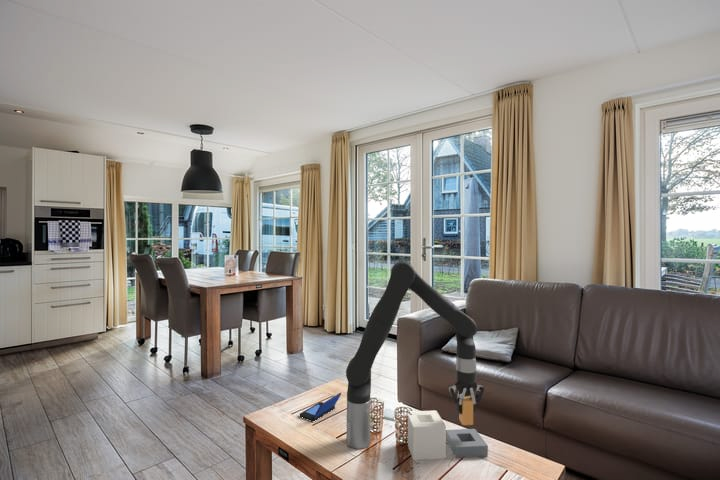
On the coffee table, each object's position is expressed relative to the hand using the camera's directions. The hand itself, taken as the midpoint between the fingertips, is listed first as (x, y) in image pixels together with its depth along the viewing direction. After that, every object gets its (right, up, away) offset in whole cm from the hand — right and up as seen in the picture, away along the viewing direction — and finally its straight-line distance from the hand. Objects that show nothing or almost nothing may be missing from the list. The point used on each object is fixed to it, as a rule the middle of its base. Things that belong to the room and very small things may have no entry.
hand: (466, 412), depth 140 cm
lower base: (0, -14, 0) cm, 14 cm away
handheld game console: (-59, -14, +27) cm, 66 cm away
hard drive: (-29, -14, +27) cm, 42 cm away
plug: (0, -4, 0) cm, 4 cm away
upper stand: (-16, -14, -1) cm, 21 cm away
